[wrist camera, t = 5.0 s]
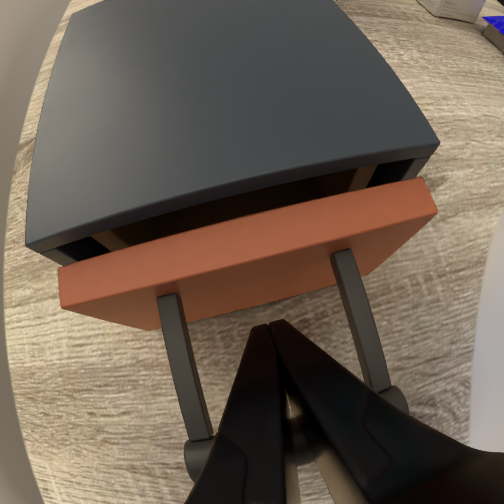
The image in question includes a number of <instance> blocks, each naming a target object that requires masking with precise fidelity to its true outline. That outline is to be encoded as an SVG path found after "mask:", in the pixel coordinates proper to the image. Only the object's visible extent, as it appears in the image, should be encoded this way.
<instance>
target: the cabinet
mask: <svg viewBox="0 0 504 504" xmlns="http://www.w3.org/2000/svg"><path fill="white" fill-rule="evenodd" d="M439 145H440V141H439V139H438V137H437V136H436V134H435V132H434V131H433V129H432V127H431V126H430V124H429V122H428V121H427V119H426V118H425V116H424V114H423V113H422V111H421V110H420V108H419V107H418V105H417V104H416V102H415V101H414V99H413V98H412V96H411V95H410V93H409V92H408V90H407V89H406V88H405V86H404V85H403V83H402V82H401V81H400V79H399V78H398V76H397V75H396V74H395V72H394V71H393V70H392V68H391V67H390V66H389V64H388V63H387V62H386V61H385V59H384V58H383V57H382V55H381V54H380V53H379V52H378V50H377V49H376V48H375V47H374V46H373V44H372V43H371V42H370V41H369V40H368V38H367V37H366V36H365V35H364V34H363V33H362V31H361V30H360V29H359V28H358V27H357V26H356V25H355V24H354V22H353V21H352V20H351V19H350V18H349V17H348V16H347V15H346V14H345V13H344V12H343V11H342V10H341V9H340V7H339V6H338V5H337V4H336V3H335V2H334V1H333V0H104V1H101V2H99V3H96V4H94V5H91V6H89V7H87V8H84V9H82V10H80V11H78V12H75V13H73V14H72V15H71V18H70V20H69V23H68V25H67V28H66V31H65V33H64V36H63V39H62V42H61V44H60V47H59V50H58V53H57V56H56V59H55V63H54V66H53V69H52V72H51V76H50V79H49V83H48V87H47V90H46V94H45V98H44V102H43V106H42V111H41V115H40V120H39V124H38V129H37V134H36V140H35V146H34V151H33V158H32V165H31V172H30V180H29V189H28V199H27V211H26V228H25V246H26V247H28V248H29V249H31V250H33V251H35V252H37V253H40V254H41V255H43V256H45V257H47V258H49V259H50V260H52V261H54V262H56V263H58V264H60V265H62V266H66V265H69V264H73V263H76V262H79V261H83V260H86V259H89V258H93V257H96V256H100V255H103V254H107V253H110V252H111V251H110V250H108V249H107V248H106V247H104V246H103V245H102V244H100V243H99V242H98V241H96V240H95V239H93V238H92V237H91V236H92V235H95V234H98V233H101V232H104V231H108V230H111V229H114V228H117V227H121V226H124V225H127V224H131V223H134V222H138V221H141V220H144V219H148V218H151V217H155V216H158V215H162V214H165V213H169V212H173V211H176V210H180V209H184V208H187V207H191V206H195V205H199V204H202V203H206V202H210V201H214V200H218V199H222V198H226V197H230V196H234V195H238V194H242V193H246V192H250V191H254V190H258V189H263V188H267V187H271V186H276V185H280V184H284V183H289V182H293V181H298V180H302V179H307V178H312V177H316V176H321V175H326V174H331V173H336V172H341V171H346V170H351V169H356V168H361V167H367V166H372V165H377V164H378V166H377V167H376V169H375V171H374V173H373V175H372V177H371V179H370V181H369V182H368V184H367V186H366V188H370V187H375V186H379V185H384V184H389V183H394V182H399V181H404V180H409V179H414V178H415V177H416V176H417V175H418V173H419V172H420V171H421V169H422V168H423V167H424V165H425V164H426V162H427V161H428V160H429V158H430V156H431V155H432V154H433V153H434V152H435V150H436V149H437V148H438V146H439Z"/></svg>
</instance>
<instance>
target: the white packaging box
mask: <svg viewBox="0 0 504 504" xmlns="http://www.w3.org/2000/svg"><path fill="white" fill-rule="evenodd" d="M417 1H418V2H419V3H420V4H422V5H423V6H424V7H425V8H426V9H427V10H428V11H429V12H430V13H432V14H433V15H434V16H441V17H447V18H453V19H458V20H463V21H467V22H470V23H475V22H476V20H477V18H478V16H479V13H480V11H481V9H482V7H483V5H484V3H485V1H486V0H417Z"/></svg>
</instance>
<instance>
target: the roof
mask: <svg viewBox="0 0 504 504" xmlns="http://www.w3.org/2000/svg"><path fill="white" fill-rule="evenodd" d="M482 18H483V19H484V20H485V21H486V22H488V23H489V24H488V26H487V28H486V30H485V32H484V34H483V35H484V36H486V37H487V38H488V39H489V40H490V41H491V42H492V43H494V44H495V45H496V46H497V47H498V48H499V49H500V50H501V51H502V52H504V16H489V17H482Z"/></svg>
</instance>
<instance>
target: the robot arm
mask: <svg viewBox="0 0 504 504" xmlns="http://www.w3.org/2000/svg"><path fill="white" fill-rule="evenodd" d="M287 397H288V399H287ZM288 400H289V403H290V405H291V408H292V410H293V412H294V415H295V417H296V419H297V421H298V424H299V426H300V428H301V430H302V433H303V435H304V437H305V439H306V442H307V444H308V446H309V448H310V450H311V453H312V455H313V457H314V459H315V462H316V464H317V466H318V468H319V470H320V473H321V475H322V477H323V479H324V481H325V483H326V486H327V488H328V490H329V492H330V494H331V496H332V499H333V501H334V503H335V504H504V453H502V452H486V451H481V450H477V449H474V448H471V447H468V446H466V445H464V444H462V443H460V442H458V441H456V440H454V439H452V438H450V437H448V436H446V435H445V434H443V433H441V432H439V431H437V430H435V429H433V428H432V427H430V426H428V425H426V424H424V423H422V422H421V421H419V420H417V419H415V418H414V417H412V416H410V415H409V414H407V413H405V412H404V411H402V410H400V409H399V408H398V407H396V406H395V405H393V404H392V403H390V402H389V401H388V400H386V399H385V398H384V397H382V396H381V395H380V394H378V393H377V392H376V391H375V390H371V388H370V387H369V386H368V385H366V384H365V383H364V382H363V381H361V380H360V379H359V378H357V377H356V376H355V375H354V374H352V373H351V372H350V371H349V370H347V369H346V368H345V367H343V366H342V365H341V364H340V363H338V362H337V361H336V360H335V359H333V358H332V357H331V356H330V355H328V354H327V353H326V352H324V351H323V350H322V349H321V348H319V347H318V346H317V345H316V344H314V343H313V342H312V341H311V340H309V339H308V338H307V337H306V336H304V335H303V334H302V333H301V332H300V331H298V330H297V329H296V328H295V327H293V326H292V325H291V324H290V323H288V322H287V321H286V320H284V319H280V320H277V321H273V322H270V323H269V326H268V324H261V325H257V326H254V327H252V329H251V331H250V334H249V337H248V340H247V344H246V347H245V350H244V353H243V356H242V359H241V362H240V365H239V368H238V371H237V374H236V377H235V380H234V383H233V386H232V389H231V392H230V395H229V398H228V401H227V404H226V407H225V409H224V412H223V415H222V418H221V421H220V424H219V427H218V432H217V433H216V435H215V438H214V441H213V444H212V447H211V449H210V452H209V454H208V457H207V459H206V462H205V464H204V467H203V469H202V471H201V473H200V475H199V477H198V479H197V481H196V483H195V485H194V487H193V489H192V490H191V492H190V494H189V496H188V498H187V500H186V501H185V503H184V504H301V498H300V490H299V481H298V473H297V465H296V457H295V449H294V441H293V433H292V425H291V417H290V410H289V404H288Z"/></svg>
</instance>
